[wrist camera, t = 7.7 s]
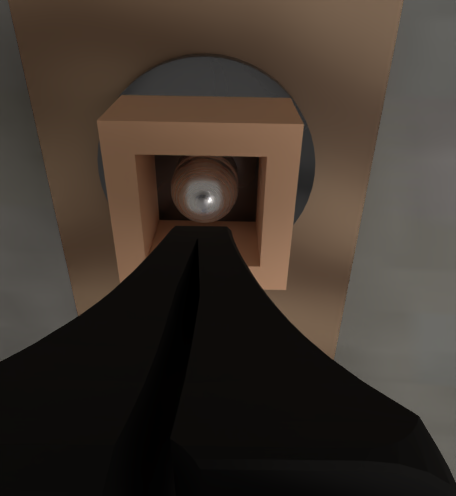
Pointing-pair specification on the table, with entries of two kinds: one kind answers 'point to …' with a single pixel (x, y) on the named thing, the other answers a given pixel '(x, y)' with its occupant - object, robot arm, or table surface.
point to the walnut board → (234, 45)
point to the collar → (202, 144)
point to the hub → (214, 167)
